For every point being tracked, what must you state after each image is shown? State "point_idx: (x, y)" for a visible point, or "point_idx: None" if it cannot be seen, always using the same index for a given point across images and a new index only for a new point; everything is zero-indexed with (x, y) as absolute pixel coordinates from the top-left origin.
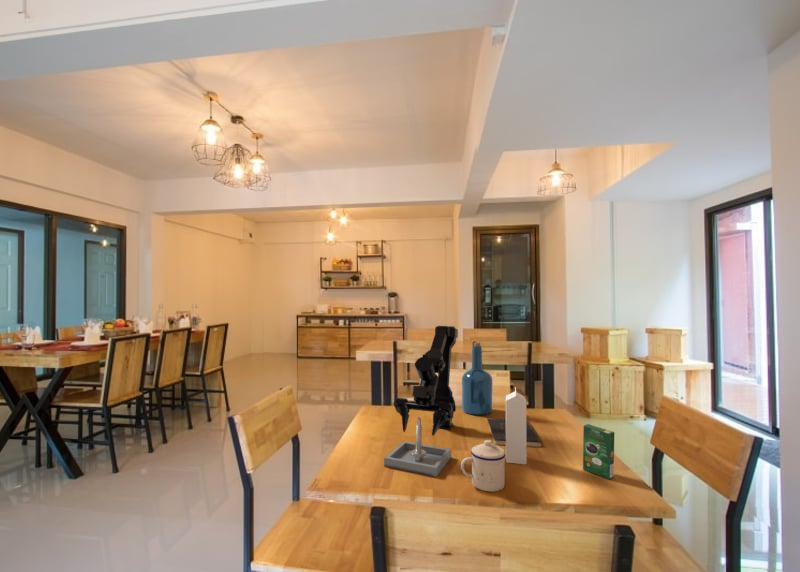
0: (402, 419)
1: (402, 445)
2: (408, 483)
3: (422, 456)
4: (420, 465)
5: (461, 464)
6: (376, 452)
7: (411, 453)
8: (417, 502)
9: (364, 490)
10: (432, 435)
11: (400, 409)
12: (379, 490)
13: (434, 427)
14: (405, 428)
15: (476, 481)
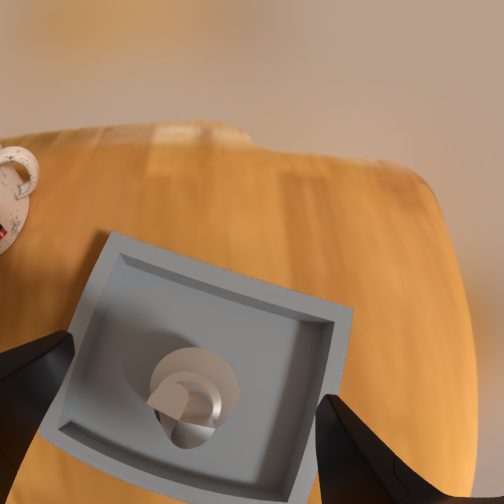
0: (392, 456)
1: (298, 471)
2: (222, 199)
3: (170, 354)
4: (178, 254)
5: (33, 156)
6: (390, 433)
7: (233, 375)
8: (193, 123)
9: (337, 166)
10: (74, 349)
11: (478, 498)
12: (301, 164)
13: (28, 350)
14: (322, 428)
15: (21, 180)
